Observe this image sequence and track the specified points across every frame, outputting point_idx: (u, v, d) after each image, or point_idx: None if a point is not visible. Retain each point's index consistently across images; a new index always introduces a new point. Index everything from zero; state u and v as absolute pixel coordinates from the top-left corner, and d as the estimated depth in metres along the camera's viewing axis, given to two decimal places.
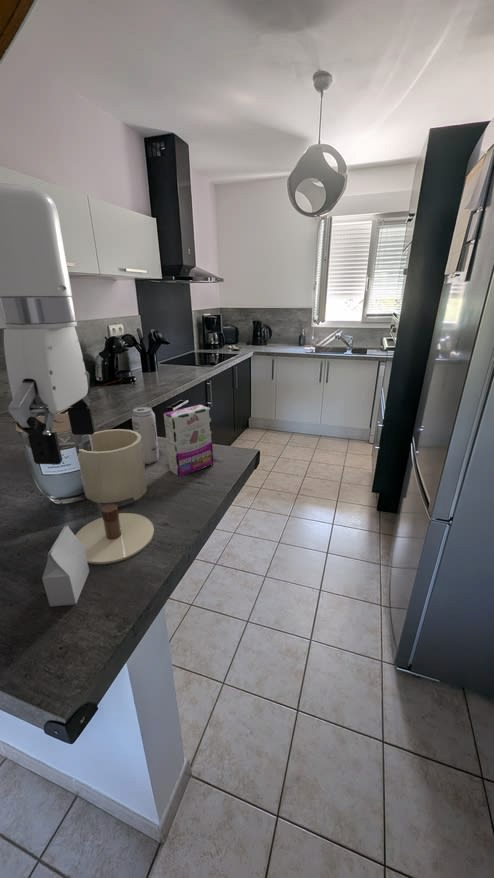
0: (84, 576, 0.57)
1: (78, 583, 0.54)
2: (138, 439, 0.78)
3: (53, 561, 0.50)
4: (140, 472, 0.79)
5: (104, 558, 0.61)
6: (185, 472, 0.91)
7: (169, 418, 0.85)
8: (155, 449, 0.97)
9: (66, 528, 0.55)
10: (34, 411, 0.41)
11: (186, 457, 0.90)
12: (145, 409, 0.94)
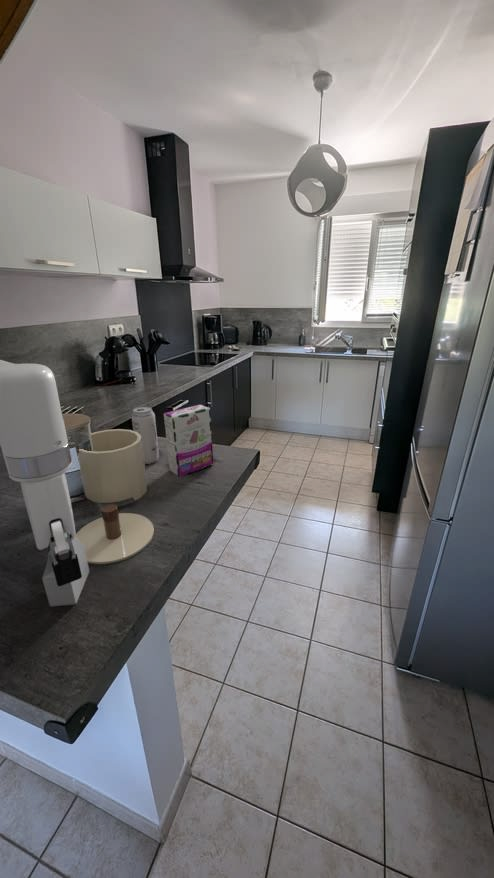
0: (84, 576, 0.57)
1: (78, 583, 0.54)
2: (138, 439, 0.78)
3: None
4: (140, 472, 0.79)
5: (104, 558, 0.61)
6: (185, 472, 0.91)
7: (169, 418, 0.85)
8: (155, 449, 0.97)
9: None
10: None
11: (186, 457, 0.90)
12: (145, 409, 0.94)
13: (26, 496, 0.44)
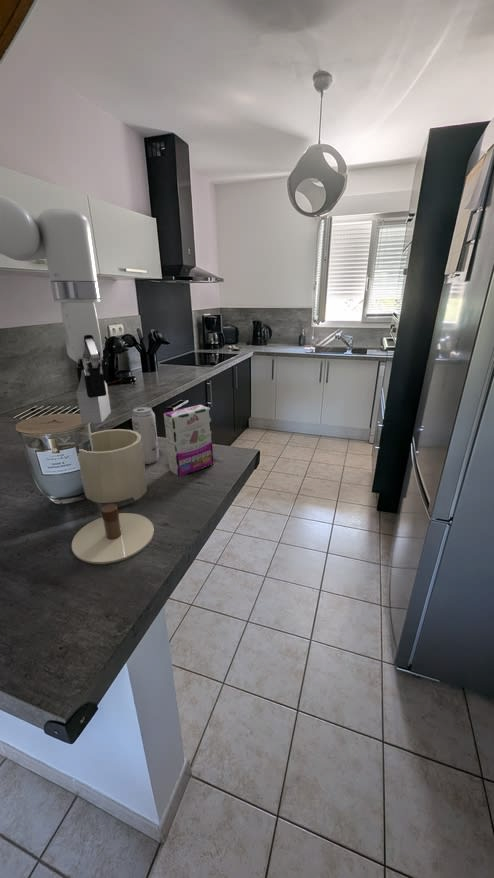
0: (107, 408, 0.72)
1: (103, 407, 0.69)
2: (138, 439, 0.78)
3: None
4: (140, 472, 0.79)
5: (104, 558, 0.61)
6: (185, 472, 0.91)
7: (169, 418, 0.85)
8: (155, 449, 0.97)
9: None
10: (88, 360, 0.63)
11: (186, 457, 0.90)
12: (145, 409, 0.94)
13: (68, 312, 0.59)
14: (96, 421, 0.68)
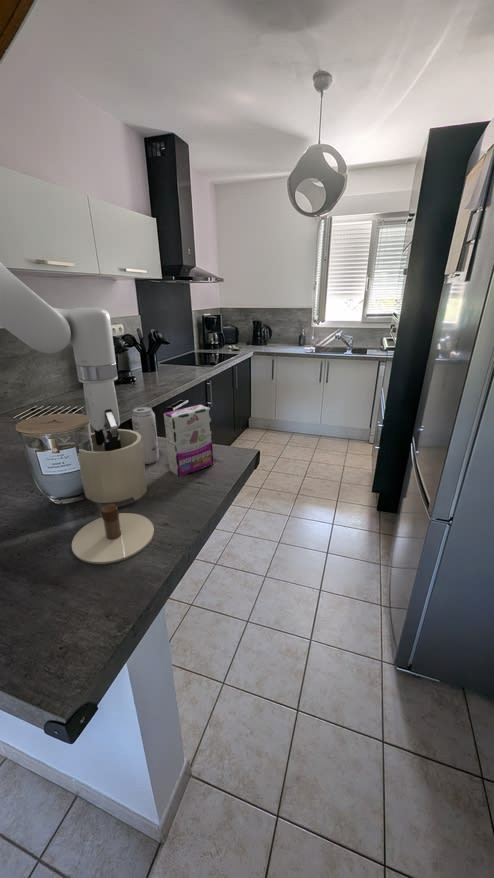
0: None
1: None
2: (138, 439, 0.78)
3: None
4: (140, 472, 0.79)
5: (104, 558, 0.61)
6: (185, 472, 0.91)
7: (169, 418, 0.85)
8: (155, 449, 0.97)
9: None
10: (108, 428, 0.73)
11: (186, 457, 0.90)
12: (145, 409, 0.94)
13: (91, 392, 0.69)
14: None
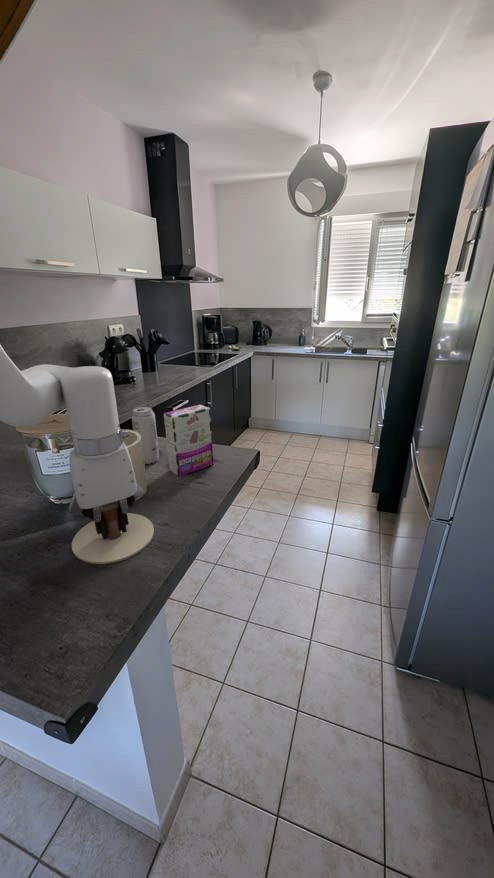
0: None
1: None
2: (138, 439, 0.78)
3: None
4: (140, 472, 0.79)
5: (104, 558, 0.61)
6: (185, 472, 0.91)
7: (169, 418, 0.85)
8: (155, 449, 0.97)
9: None
10: None
11: (186, 457, 0.90)
12: (145, 409, 0.94)
13: None
14: None
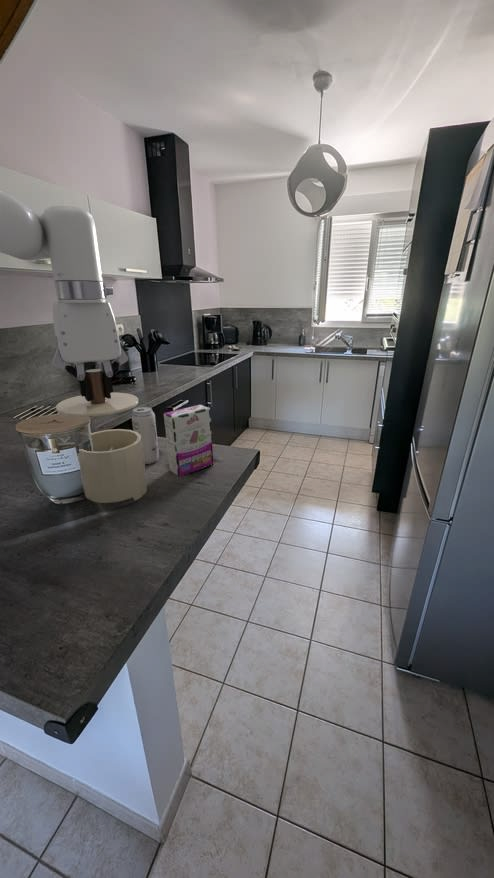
0: None
1: None
2: (138, 439, 0.78)
3: None
4: (140, 472, 0.79)
5: (87, 412, 0.62)
6: (185, 472, 0.91)
7: (169, 418, 0.85)
8: (155, 449, 0.97)
9: (112, 448, 0.81)
10: (74, 363, 0.64)
11: (186, 457, 0.90)
12: (145, 409, 0.94)
13: None
14: None
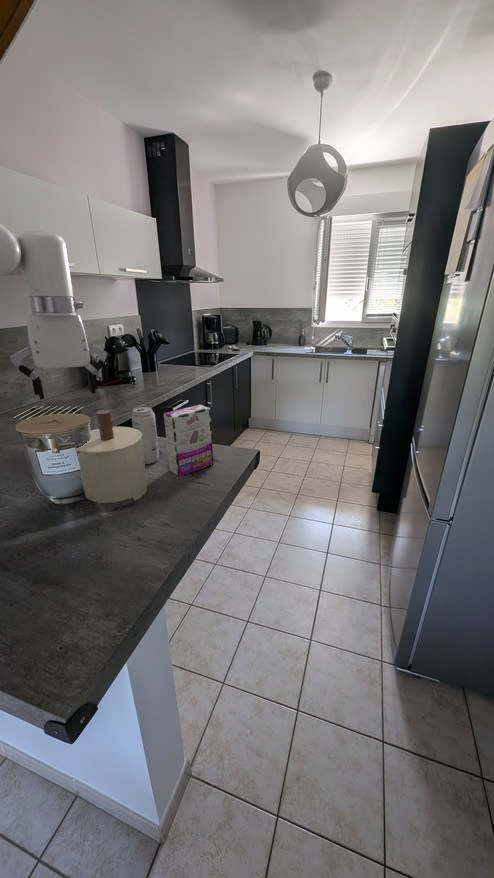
0: None
1: None
2: None
3: None
4: (140, 472, 0.79)
5: (99, 449, 0.72)
6: (185, 472, 0.91)
7: (169, 418, 0.85)
8: (155, 449, 0.97)
9: None
10: None
11: (186, 457, 0.90)
12: (145, 409, 0.94)
13: None
14: None
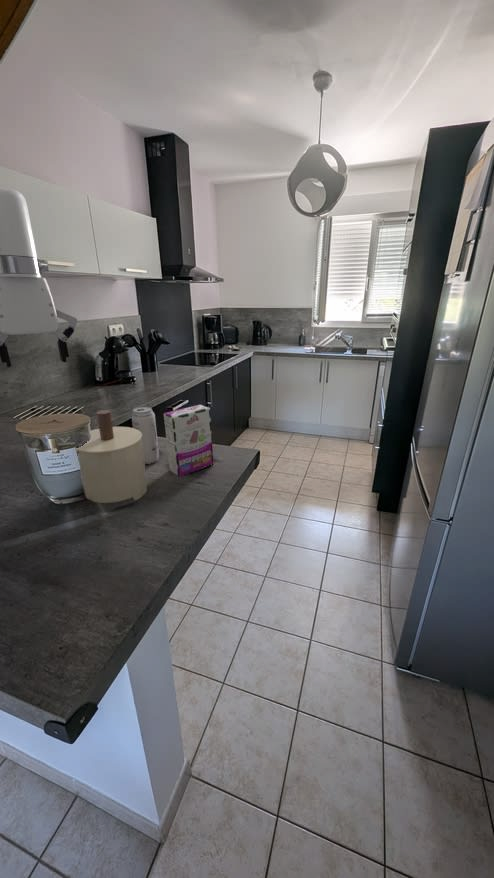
0: None
1: None
2: None
3: None
4: (140, 472, 0.79)
5: (99, 449, 0.72)
6: (185, 472, 0.91)
7: (169, 418, 0.85)
8: (155, 449, 0.97)
9: None
10: (1, 330, 0.67)
11: (186, 457, 0.90)
12: (145, 409, 0.94)
13: None
14: None
